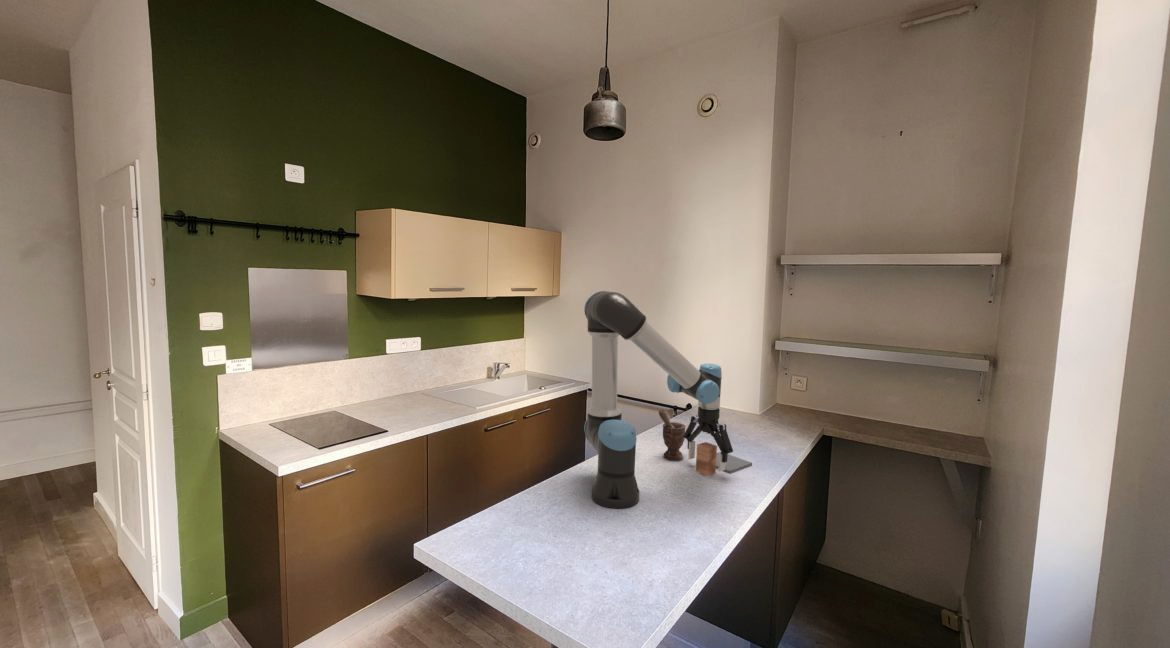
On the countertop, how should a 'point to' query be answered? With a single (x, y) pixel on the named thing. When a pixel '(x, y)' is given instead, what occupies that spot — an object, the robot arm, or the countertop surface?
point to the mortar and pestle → (672, 437)
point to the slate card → (733, 463)
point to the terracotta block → (706, 458)
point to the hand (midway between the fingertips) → (706, 464)
